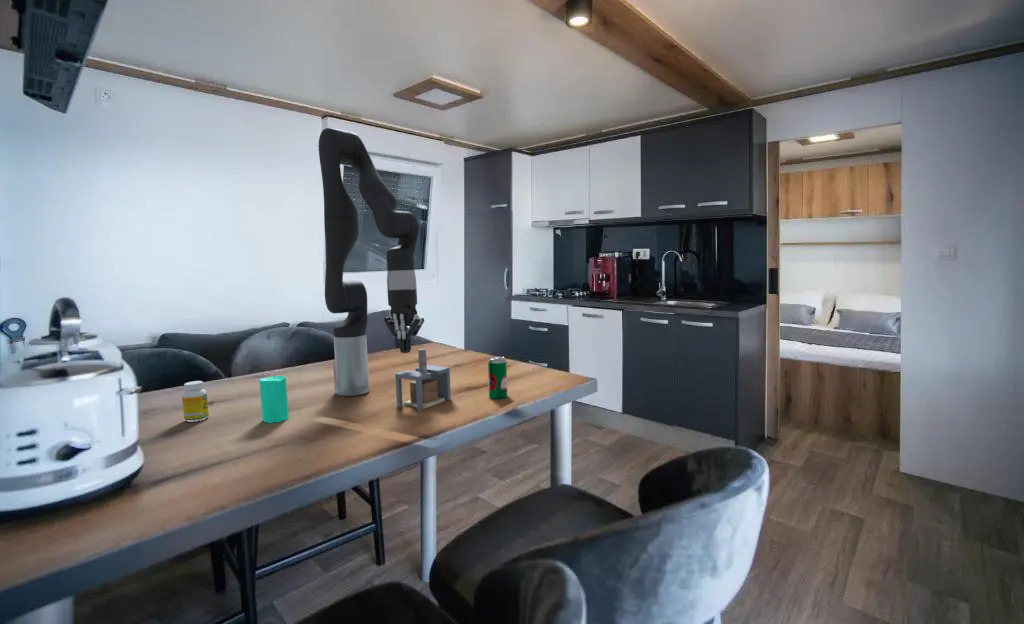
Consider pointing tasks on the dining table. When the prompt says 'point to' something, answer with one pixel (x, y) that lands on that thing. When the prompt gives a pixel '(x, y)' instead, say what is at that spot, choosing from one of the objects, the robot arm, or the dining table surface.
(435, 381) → the stepped block tower
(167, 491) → the dining table surface
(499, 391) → the soda can
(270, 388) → the candle
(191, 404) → the supplement bottle
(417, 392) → the grey table frame
